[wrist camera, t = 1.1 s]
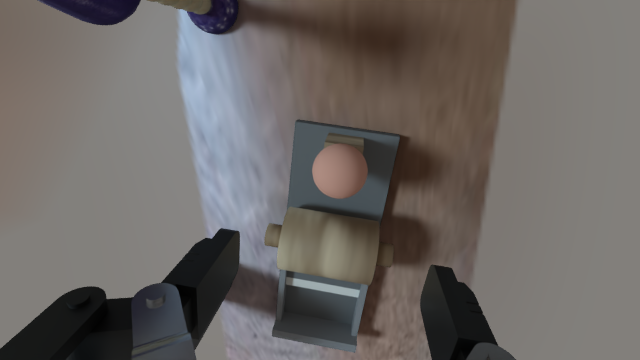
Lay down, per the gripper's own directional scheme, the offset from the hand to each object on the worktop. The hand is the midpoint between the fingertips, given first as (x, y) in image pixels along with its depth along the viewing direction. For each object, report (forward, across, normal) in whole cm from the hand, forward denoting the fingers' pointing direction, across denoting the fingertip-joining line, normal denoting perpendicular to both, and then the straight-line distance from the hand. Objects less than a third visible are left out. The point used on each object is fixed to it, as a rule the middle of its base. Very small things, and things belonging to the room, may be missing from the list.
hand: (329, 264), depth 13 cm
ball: (+13, 0, 0) cm, 13 cm away
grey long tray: (+17, 0, +9) cm, 19 cm away
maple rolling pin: (+17, 0, +8) cm, 18 cm away
